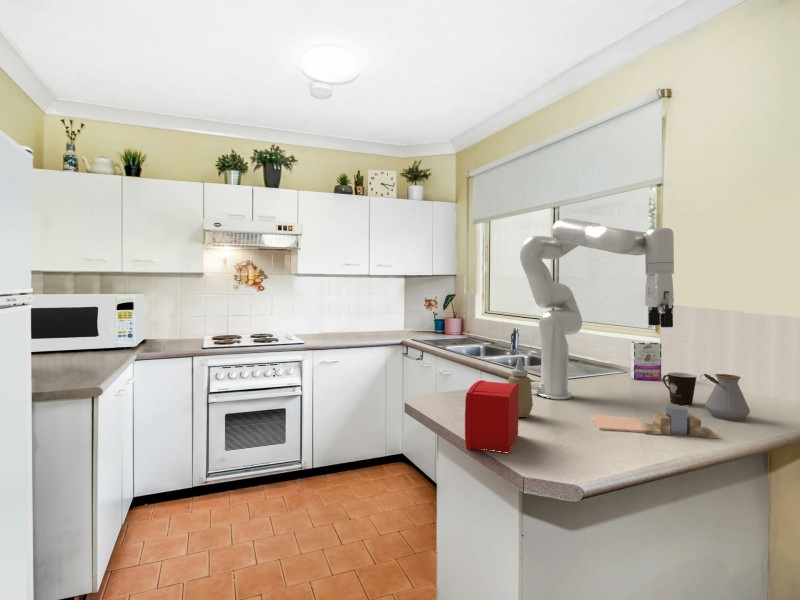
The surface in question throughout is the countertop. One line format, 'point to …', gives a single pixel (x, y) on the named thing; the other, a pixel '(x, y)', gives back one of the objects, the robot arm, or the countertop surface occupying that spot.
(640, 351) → the candy bar box
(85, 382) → the countertop surface
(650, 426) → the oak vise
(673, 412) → the metal block
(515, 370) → the squeeze bottle
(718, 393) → the coffee pot
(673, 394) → the coffee mug
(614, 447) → the countertop surface
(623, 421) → the terracotta tile
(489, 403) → the red rounded box
